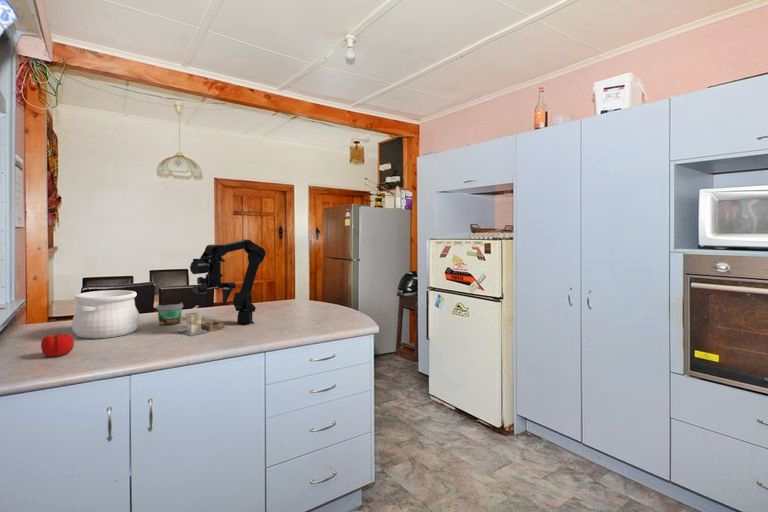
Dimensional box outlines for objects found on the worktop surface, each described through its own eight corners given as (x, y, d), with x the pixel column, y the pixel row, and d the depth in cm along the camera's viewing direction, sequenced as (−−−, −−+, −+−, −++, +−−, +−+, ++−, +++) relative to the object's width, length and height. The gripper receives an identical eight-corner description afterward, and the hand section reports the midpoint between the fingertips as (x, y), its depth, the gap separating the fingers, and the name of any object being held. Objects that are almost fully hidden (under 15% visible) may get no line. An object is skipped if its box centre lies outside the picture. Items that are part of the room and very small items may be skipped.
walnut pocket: (214, 326, 194) (214, 321, 194) (224, 328, 189) (224, 323, 189) (199, 329, 187) (199, 323, 187) (208, 331, 183) (208, 326, 183)
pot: (104, 343, 161) (104, 299, 160) (55, 338, 166) (54, 296, 165) (153, 328, 187) (153, 291, 186) (109, 324, 192) (109, 288, 191)
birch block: (195, 329, 184) (195, 312, 184) (201, 331, 182) (201, 313, 181) (186, 331, 180) (186, 313, 180) (191, 333, 178) (191, 315, 177)
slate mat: (195, 329, 187) (195, 327, 187) (208, 332, 182) (208, 331, 181) (178, 332, 181) (178, 331, 181) (191, 336, 175) (191, 334, 175)
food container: (162, 327, 188) (162, 306, 188) (156, 325, 192) (156, 304, 192) (188, 323, 198) (188, 303, 198) (182, 321, 202) (182, 301, 201)
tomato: (79, 351, 150) (78, 331, 149) (60, 359, 141) (60, 338, 140) (53, 351, 149) (53, 331, 149) (33, 358, 140) (32, 337, 140)
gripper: (222, 269, 197) (223, 300, 198) (185, 272, 182) (186, 306, 183) (236, 270, 190) (236, 303, 191) (198, 274, 175) (199, 309, 176)
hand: (215, 305), depth 186 cm, fingers open, 9 cm apart
